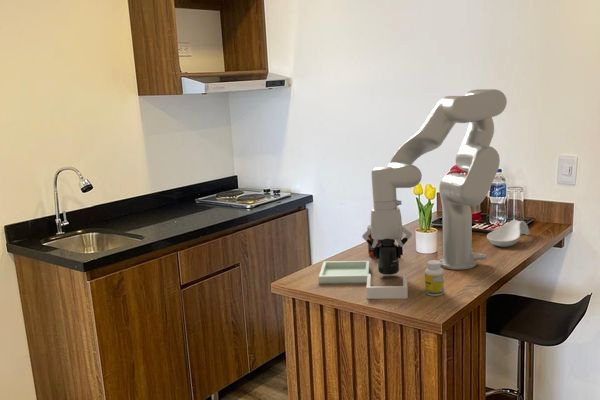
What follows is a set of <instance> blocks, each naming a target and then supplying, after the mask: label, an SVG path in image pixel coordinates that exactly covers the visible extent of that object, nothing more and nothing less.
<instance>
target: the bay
mask: <svg viewBox="0 0 600 400" xmlns="http://www.w3.org/2000/svg"><path fill="white" fill-rule="evenodd" d="M365 287H366V299H367V300H373V299H374V300H375V299H376V300H377V299H379V300H381V299H382V300H383V299H385V300H387V299H388V300H389V299H392V300H393V299H395V300H396V299H397V300H398V299H400V300H401V299H406V300H407V299H408V298H409V296H408V280H407V273H404V272H403V273H402V285H398V286H397V285H393V286H392V285H386V286H384V285H383V286H382V285H380V286H375V285H374V286H372V274H371V273H369V274H368V277H367V283H366V286H365Z"/></svg>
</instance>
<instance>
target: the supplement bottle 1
mask: <svg viewBox="0 0 600 400" xmlns="http://www.w3.org/2000/svg"><path fill="white" fill-rule="evenodd" d="M380 243H381V244H380V245H379V246H378V247H377V252H378V259H377V265H378V266H377V269H378V273H380V274H381V275H385V276H386V275H387V276H391V275H396V274H398V273H399V272H400V260H399V256H398V245H397V244H396V239H394V240H393V239H384V240H380Z"/></svg>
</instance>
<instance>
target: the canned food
mask: <svg viewBox="0 0 600 400" xmlns="http://www.w3.org/2000/svg"><path fill="white" fill-rule="evenodd" d="M370 228H371V224H369V225H367V229H366V231H367V230H369V229H370ZM368 237H369V238H370V239H371V240H372V241H373V240H374V239H372V237H371V234H369V235H368ZM380 244H381V243H380V240H378V242H377V247H378V246H379V245H380ZM367 250H368V252H367V253H368V256H369V257H371V258H375V259H376V256H373V248H372V246H371V245H370V244H368V243H367Z"/></svg>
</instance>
